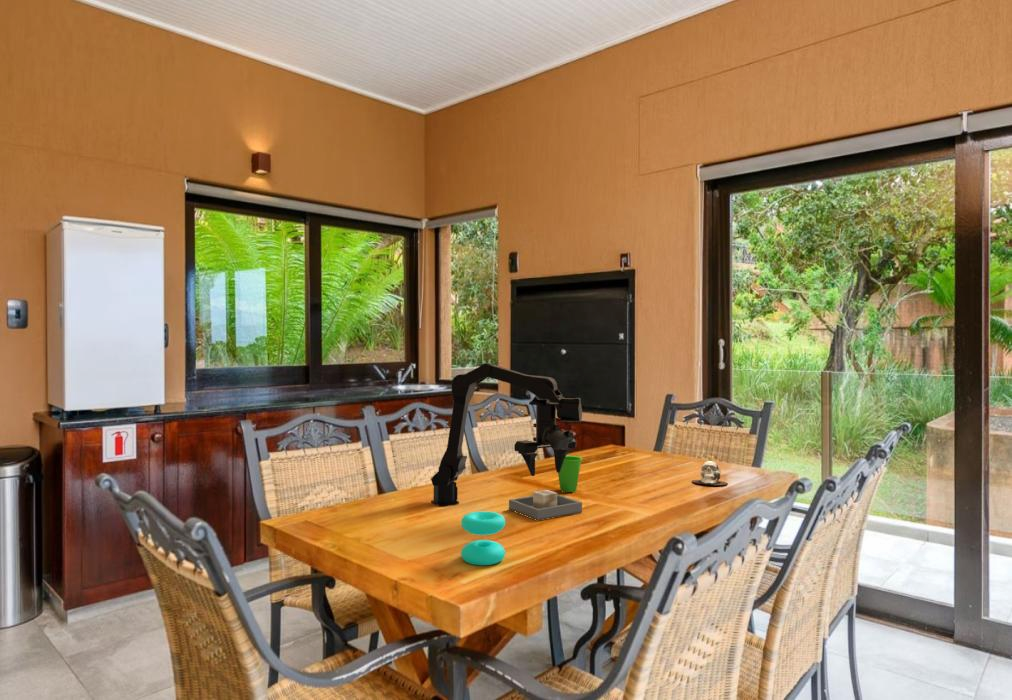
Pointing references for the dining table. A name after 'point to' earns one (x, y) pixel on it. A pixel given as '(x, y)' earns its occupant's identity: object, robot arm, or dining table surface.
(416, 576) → the dining table surface
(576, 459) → the cup
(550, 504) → the block
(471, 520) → the donuts
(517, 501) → the tray
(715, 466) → the skull
